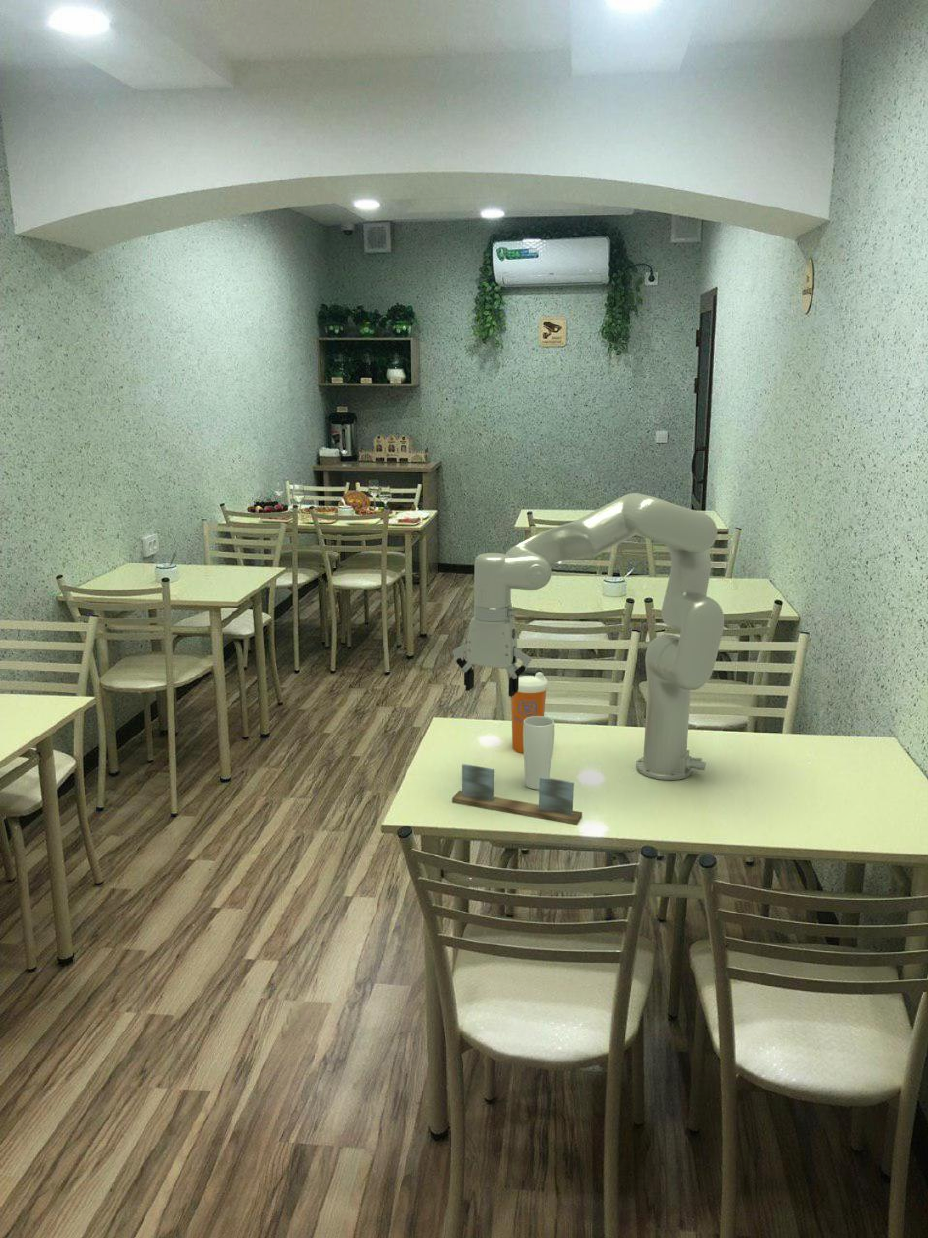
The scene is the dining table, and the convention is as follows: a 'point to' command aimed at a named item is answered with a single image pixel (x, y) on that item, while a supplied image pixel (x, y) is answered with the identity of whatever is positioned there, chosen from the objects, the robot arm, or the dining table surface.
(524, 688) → the shaker bottle
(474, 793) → the stand
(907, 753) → the dining table surface
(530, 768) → the drinking glass
